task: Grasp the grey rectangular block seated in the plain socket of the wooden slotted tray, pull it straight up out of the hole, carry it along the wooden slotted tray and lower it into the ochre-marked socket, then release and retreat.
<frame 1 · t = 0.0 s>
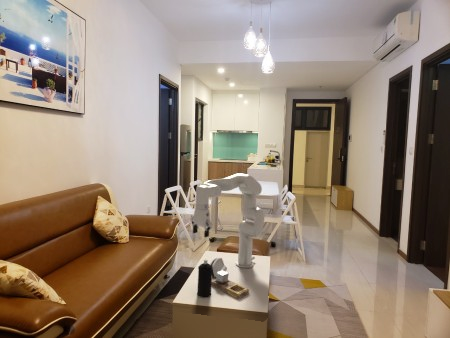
hand: (200, 234, 182), 31 cm above the table, fingers open, 9 cm apart
aerosol can: (204, 294, 175), on the table
grey rectangular block: (221, 285, 186), resting in wooden slotted tray
wooden slotted tray: (229, 289, 183), on the table
gray curved box: (217, 273, 204), on the table
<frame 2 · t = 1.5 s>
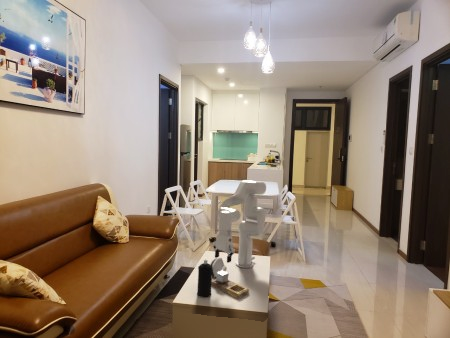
hand: (222, 259, 184), 16 cm above the table, fingers open, 9 cm apart
nothing on the table moved.
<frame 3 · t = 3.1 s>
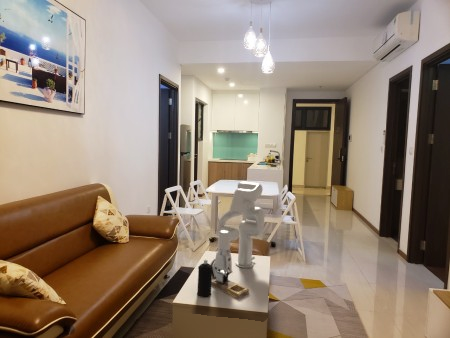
hand: (222, 279, 186), 4 cm above the table, fingers closed on grey rectangular block, 5 cm apart
grey rectangular block: (221, 285, 186), resting in wooden slotted tray, touching gripper
everything else where it was.
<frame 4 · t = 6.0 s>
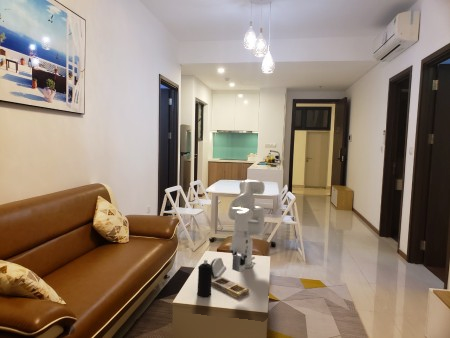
hand: (238, 263, 177), 18 cm above the table, fingers closed on grey rectangular block, 5 cm apart
grey rectangular block: (238, 269, 177), point 14 cm above the table, touching gripper
everything else where it was.
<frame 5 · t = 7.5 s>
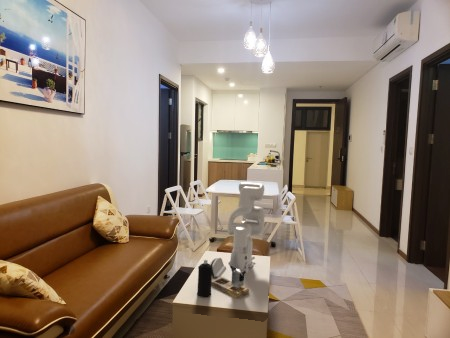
hand: (237, 278, 177), 9 cm above the table, fingers closed on grey rectangular block, 5 cm apart
grey rectangular block: (237, 285, 178), point 5 cm above the table, touching gripper
everything else where it was.
when the fingers open (5 cm above the table, at t = 8.7 s): grey rectangular block drops 1 cm, resting in wooden slotted tray.
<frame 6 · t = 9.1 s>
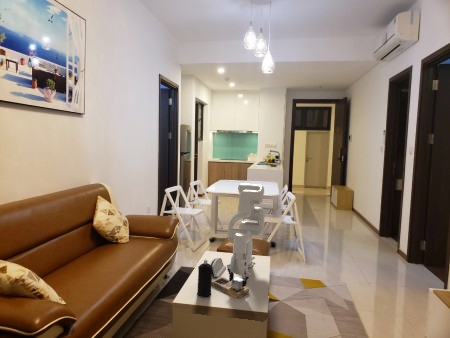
hand: (237, 283, 178), 6 cm above the table, fingers open, 9 cm apart
grey rectangular block: (237, 292, 179), resting in wooden slotted tray
everything else where it was.
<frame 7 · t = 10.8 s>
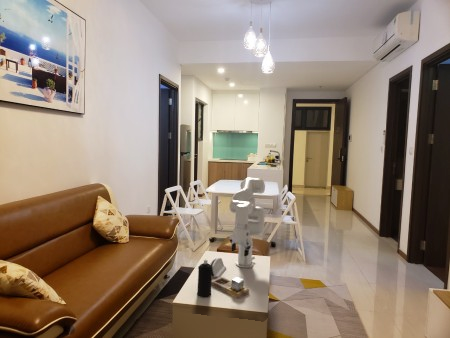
hand: (239, 253, 183), 22 cm above the table, fingers open, 9 cm apart
nothing on the table moved.
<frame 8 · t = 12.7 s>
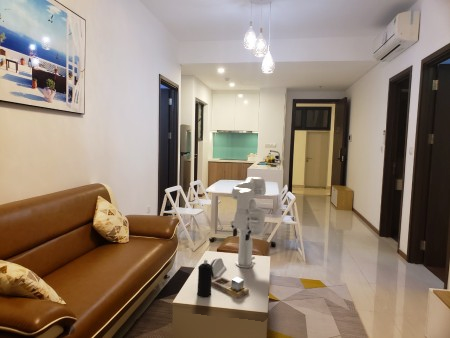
hand: (241, 238, 189), 28 cm above the table, fingers open, 9 cm apart
nothing on the table moved.
at the end: grey rectangular block 0.0 cm from the target spot on the wooden slotted tray, point 0.0 cm above the wooden slotted tray's base; grey rectangular block tilted 0°; the gripper is holding nothing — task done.
